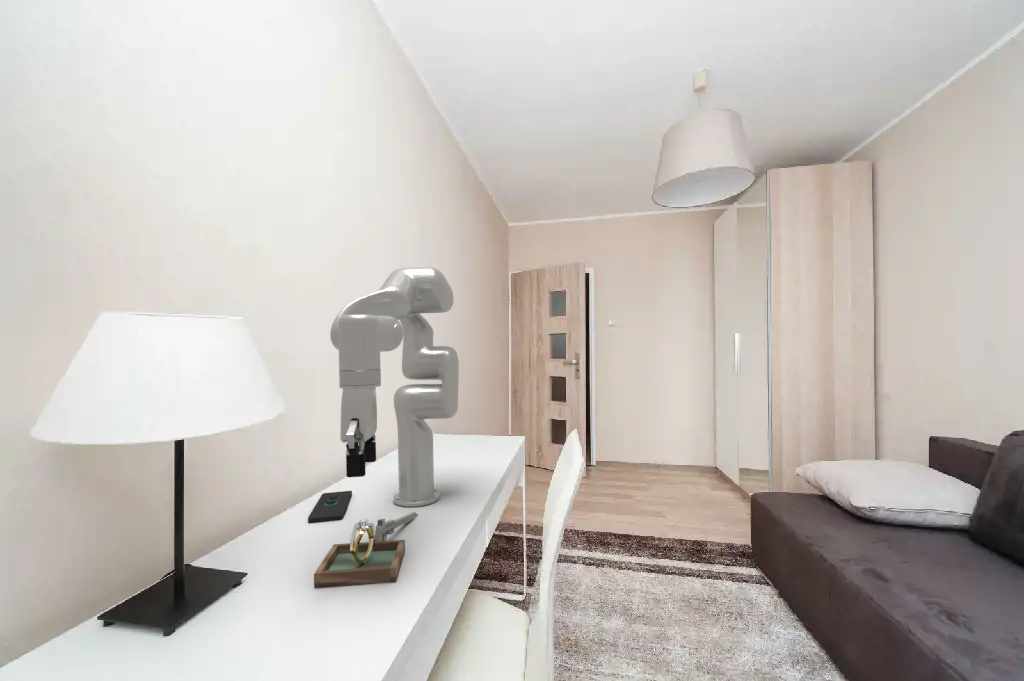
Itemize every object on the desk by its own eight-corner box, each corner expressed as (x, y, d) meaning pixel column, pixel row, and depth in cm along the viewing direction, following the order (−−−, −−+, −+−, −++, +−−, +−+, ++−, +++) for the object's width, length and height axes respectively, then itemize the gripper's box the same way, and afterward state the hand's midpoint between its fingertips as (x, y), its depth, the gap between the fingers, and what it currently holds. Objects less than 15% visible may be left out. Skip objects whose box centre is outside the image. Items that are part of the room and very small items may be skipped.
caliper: (379, 554, 91) (379, 522, 91) (374, 553, 91) (374, 522, 91) (418, 516, 111) (417, 490, 112) (414, 515, 112) (413, 490, 112)
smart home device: (352, 489, 129) (342, 514, 109) (353, 495, 129) (343, 521, 109) (322, 492, 127) (306, 518, 107) (322, 498, 127) (306, 525, 107)
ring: (359, 572, 81) (358, 528, 81) (344, 570, 82) (343, 526, 82) (381, 555, 88) (380, 514, 88) (367, 553, 89) (366, 513, 89)
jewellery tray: (334, 556, 90) (333, 544, 90) (405, 551, 91) (404, 539, 91) (314, 588, 78) (313, 574, 78) (396, 581, 79) (395, 568, 79)
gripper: (351, 376, 93) (353, 458, 93) (325, 384, 76) (328, 484, 76) (388, 375, 94) (389, 456, 94) (371, 382, 77) (373, 481, 77)
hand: (362, 468), depth 85 cm, fingers open, 9 cm apart
